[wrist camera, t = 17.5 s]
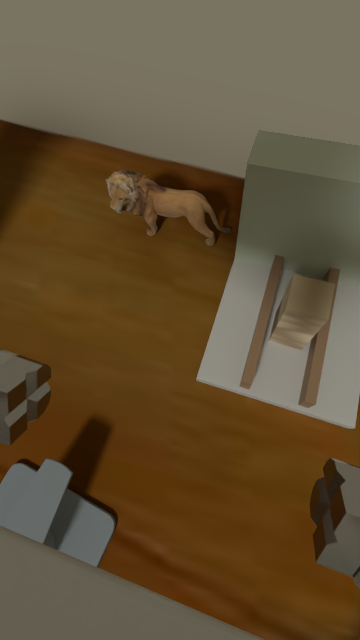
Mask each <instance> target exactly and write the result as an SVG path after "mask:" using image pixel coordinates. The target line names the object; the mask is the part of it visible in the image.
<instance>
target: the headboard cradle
mask: <svg viewBox="0 0 360 640" xmlns="http://www.w3.org/2000/svg"><path fill="white" fill-rule="evenodd" d="M294 274H296V275H300V276H301V275H303V276H307V277H312V278H316V279H320V280H324V281H326V282H329V283H334V284H335V288H334V293H333V298H332V304H331V309H330V315H329V320H328V321H327V322H326V323H325V324H324V325H323V327H322V328H321V329H320V330H319V331H318V332H317V333H316V334H315V336H314V337H313V338H312V339H311V340H310V341H309V342H308V343H307V345H306V346H305V347H304V348H303V349H302V350H299V349H295V348H292V347H288V346H284V345H281V344H277V343H274V342H270V341H269V338H270V334H271V330H272V326H273V322H274V318H275V314H276V311H277V309H278V307H279V305H280V303H281V301H282V299H283V297H284V294H285V292H286V290H287V288H288V286H289V284H290V282H291V280H292V278H293V275H294ZM197 381H199V382H203V383H206V384H209V385H212V386H215V387H218V388H222V389H225V390H228V391H231V392H234V393H237V394H241V395H244V396H247V397H250V398H253V399H256V400H260V401H263V402H266V403H269V404H272V405H275V406H279V407H282V408H285V409H288V410H291V411H294V412H298V413H301V414H304V415H307V416H310V417H313V418H317V419H320V420H323V421H326V422H329V423H332V424H336V425H339V426H342V427H345V428H348V429H353V428H355V424H356V416H357V409H358V402H359V394H360V146H358V145H352V144H345V143H339V142H332V141H326V140H319V139H313V138H305V137H300V136H293V135H287V134H280V133H274V132H267V131H261V130H259V131H258V134H257V136H256V140H255V142H254V145H253V148H252V151H251V154H250V157H249V160H248V163H247V169H246V177H245V184H244V192H243V199H242V207H241V214H240V222H239V229H238V237H237V244H236V252H235V259H234V262H233V265H232V268H231V271H230V274H229V278H228V281H227V284H226V287H225V290H224V293H223V296H222V300H221V303H220V306H219V309H218V312H217V315H216V319H215V322H214V325H213V328H212V331H211V334H210V337H209V341H208V344H207V347H206V350H205V353H204V356H203V359H202V363H201V366H200V369H199V372H198V375H197Z"/></svg>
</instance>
